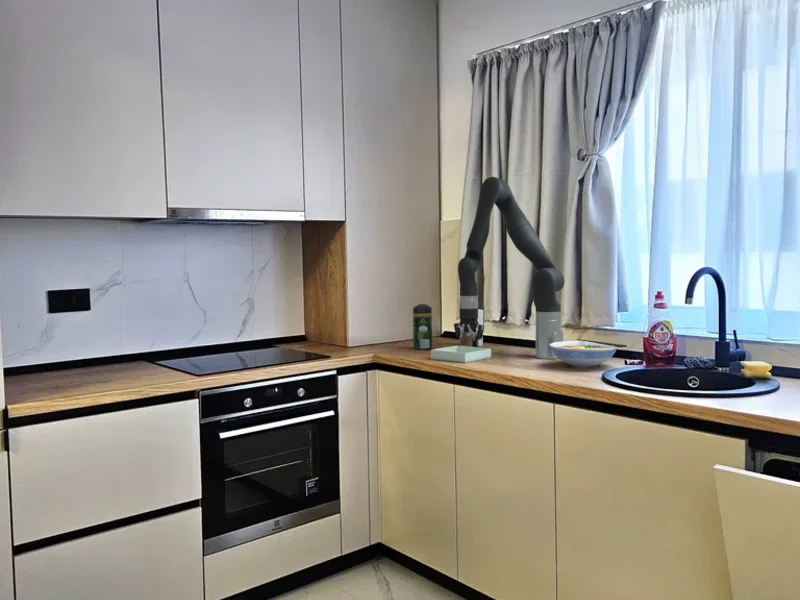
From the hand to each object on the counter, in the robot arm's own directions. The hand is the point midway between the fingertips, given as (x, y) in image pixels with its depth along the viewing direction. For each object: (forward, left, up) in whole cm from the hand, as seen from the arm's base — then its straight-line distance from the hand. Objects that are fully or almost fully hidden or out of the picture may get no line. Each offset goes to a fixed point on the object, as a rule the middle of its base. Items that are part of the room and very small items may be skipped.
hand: (469, 349), depth 275 cm
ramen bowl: (-53, +6, -1) cm, 53 cm away
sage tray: (-9, +17, -1) cm, 19 cm away
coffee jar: (+21, +4, -1) cm, 21 cm away
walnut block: (0, 0, -1) cm, 1 cm away
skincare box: (+11, -17, -1) cm, 20 cm away
